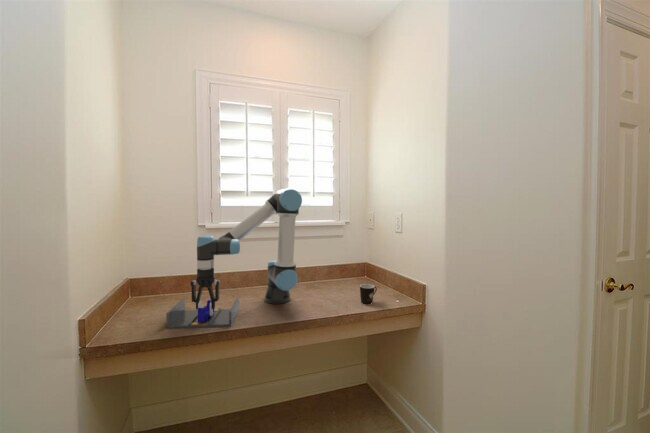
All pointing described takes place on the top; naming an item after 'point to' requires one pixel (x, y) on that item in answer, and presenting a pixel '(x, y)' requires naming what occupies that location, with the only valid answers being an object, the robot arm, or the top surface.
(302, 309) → the top surface
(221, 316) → the desk rack
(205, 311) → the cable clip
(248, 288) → the top surface
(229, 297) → the top surface
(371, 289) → the coffee mug
